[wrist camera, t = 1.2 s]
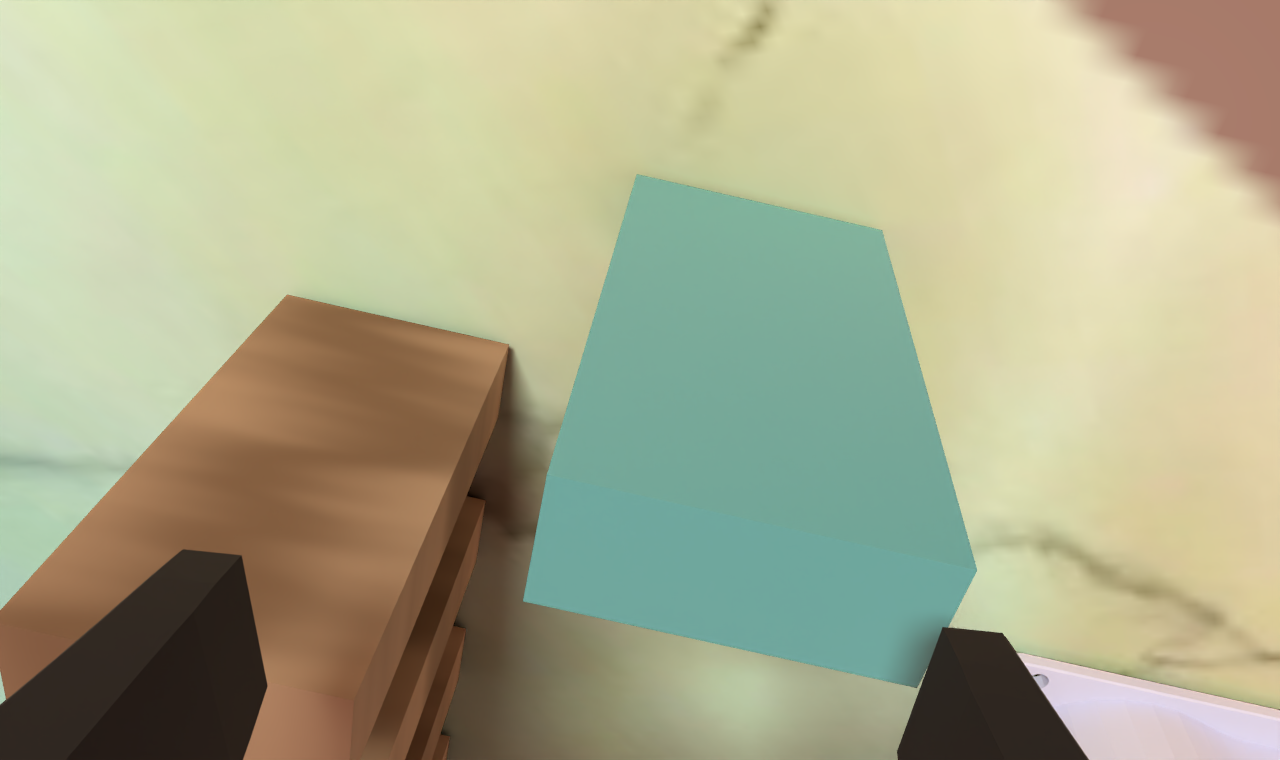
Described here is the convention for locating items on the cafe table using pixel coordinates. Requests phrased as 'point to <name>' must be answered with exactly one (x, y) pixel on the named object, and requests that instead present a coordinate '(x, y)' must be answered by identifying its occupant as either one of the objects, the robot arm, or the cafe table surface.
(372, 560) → the domino
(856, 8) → the cafe table surface
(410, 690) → the domino
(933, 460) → the domino
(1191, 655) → the cafe table surface
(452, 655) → the domino
